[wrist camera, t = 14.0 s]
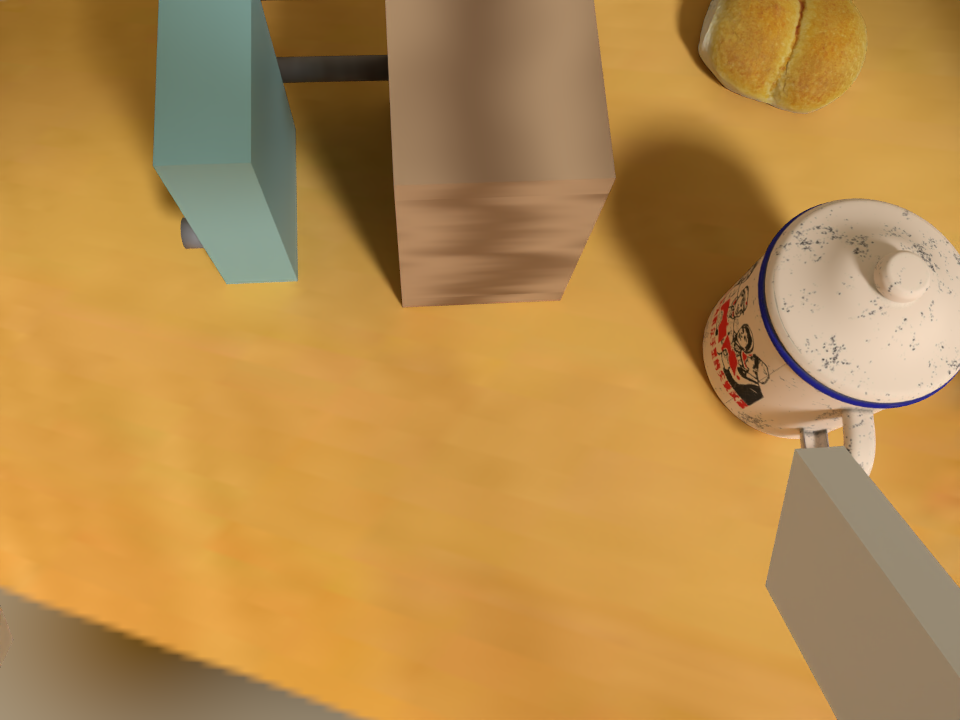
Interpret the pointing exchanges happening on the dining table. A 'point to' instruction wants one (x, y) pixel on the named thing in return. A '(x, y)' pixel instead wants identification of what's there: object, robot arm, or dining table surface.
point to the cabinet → (488, 143)
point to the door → (227, 137)
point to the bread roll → (785, 49)
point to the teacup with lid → (838, 325)
